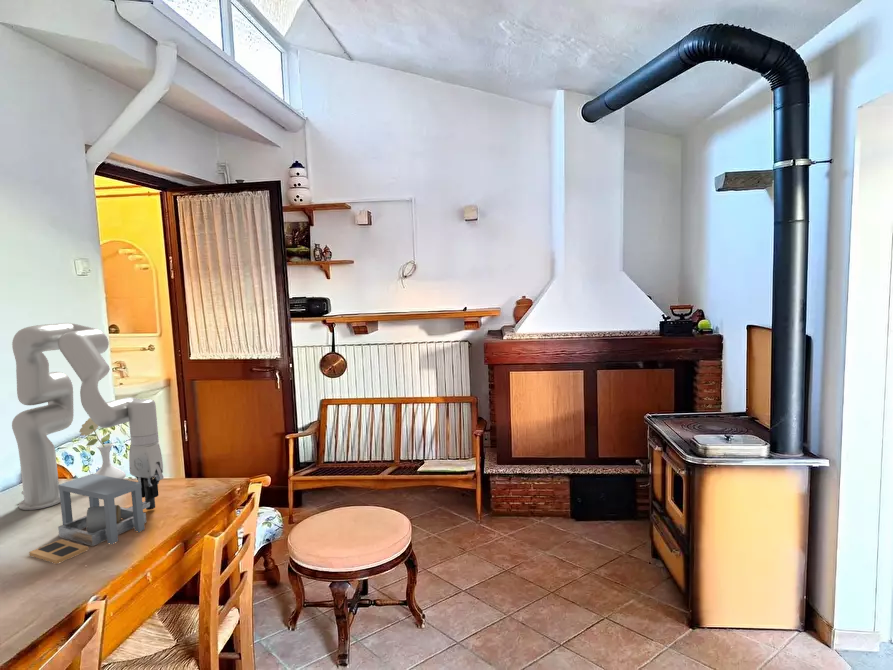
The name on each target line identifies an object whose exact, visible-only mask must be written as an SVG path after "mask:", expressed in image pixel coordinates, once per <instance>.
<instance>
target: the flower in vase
mask: <svg viewBox="0 0 893 670" xmlns="http://www.w3.org/2000/svg"><path fill="white" fill-rule="evenodd" d="M98 428H99V426H98V425H97V424H95V423H94V422H93V421H92V419H91V418H90V417H89V418H88V419H86V421H85V422H84V423H83V424H82V425H81V427H80V429H79V431H78V432H79V435H80V436H83V437H87V436H90V435H92V434H93V433H94V435H95V437H96V438H92V439H90V440H89V441H88V442H87V444H86V446H94V445H96V443H98V442H99V443H100V444H99V445H97V446H96V448H97V449H98V450H99V452H100V454H101V459H102V465H101V467H100V468H99V469H98V470H97V471H96V472H94V474H98V475H103V476H108V477H113V478H119V479H124V480H125V477H126V476H127V474H126V472H125V471H123V470H122V469H120V468H118V467H116V466H114V465H112V463H111V458H110V456H111V454H110V453H111V449H112V447H113V445H114V443H106V442H108V441H109V440H110V438H111V434H110V433H108V434H106V435H105V436H103V437H102V438H100V439H101V440H100V439H99V437H98V434H97V432H96V431H97V429H98Z"/></svg>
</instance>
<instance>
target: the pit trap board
mask: <svg viewBox="0 0 893 670" xmlns="http://www.w3.org/2000/svg"><path fill="white" fill-rule="evenodd" d="M86 550H88V551H89V546H88V545H87V546H86V545H85V544H84V545H83V544H81V543H78V542H77V543H76V542H73V541H70V540H65V539H62V538H61V539H58V540H56V541H55V540H54V541H53V542H50V543H48V544H46V545H45V544H44V545H42V546H40V547H38V548H36V549H34V550H31V551H29V552H28V553H29V554H28V555H29V557H32V556H33V557H32V558H35V557H36V559H39V560H42V559H43V560H42V561H45V560H46V562H48V561H50V562H49V563H51V562H53V563H52V564H54V563H55V565H58V564H57V563H59V562H61V563H63V562H65V561H67V560H66V559H68V560H70V559H71V557H72V558H74V557H76V556H75V555H77V556H79V555H81V554H83V553H85V552H84V551H86ZM82 552H83V553H82ZM86 552H87V551H86ZM80 553H81V554H80ZM78 554H79V555H78ZM73 556H74V557H73ZM69 558H70V559H69ZM64 560H65V561H64ZM62 561H63V562H62ZM59 564H60V563H59Z"/></svg>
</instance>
